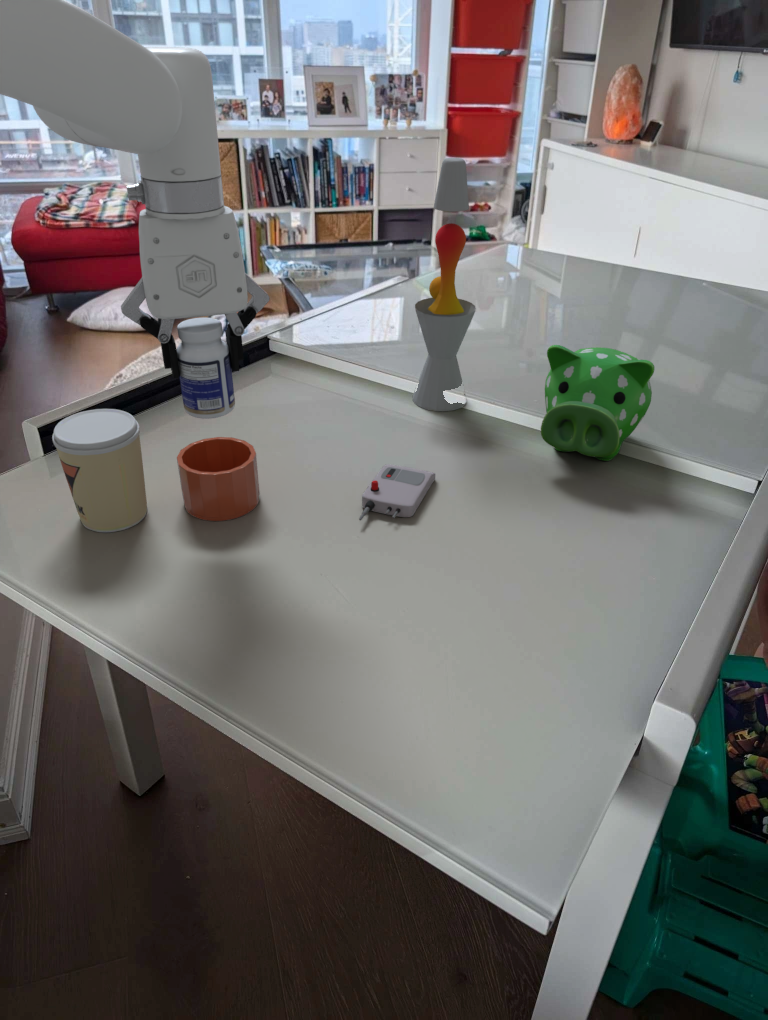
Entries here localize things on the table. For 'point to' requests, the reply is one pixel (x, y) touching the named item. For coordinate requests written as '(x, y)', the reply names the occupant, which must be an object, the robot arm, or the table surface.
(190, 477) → the pen cup
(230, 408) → the pill bottle
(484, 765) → the table surface
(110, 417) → the coffee cup
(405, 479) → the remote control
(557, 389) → the piggy bank
